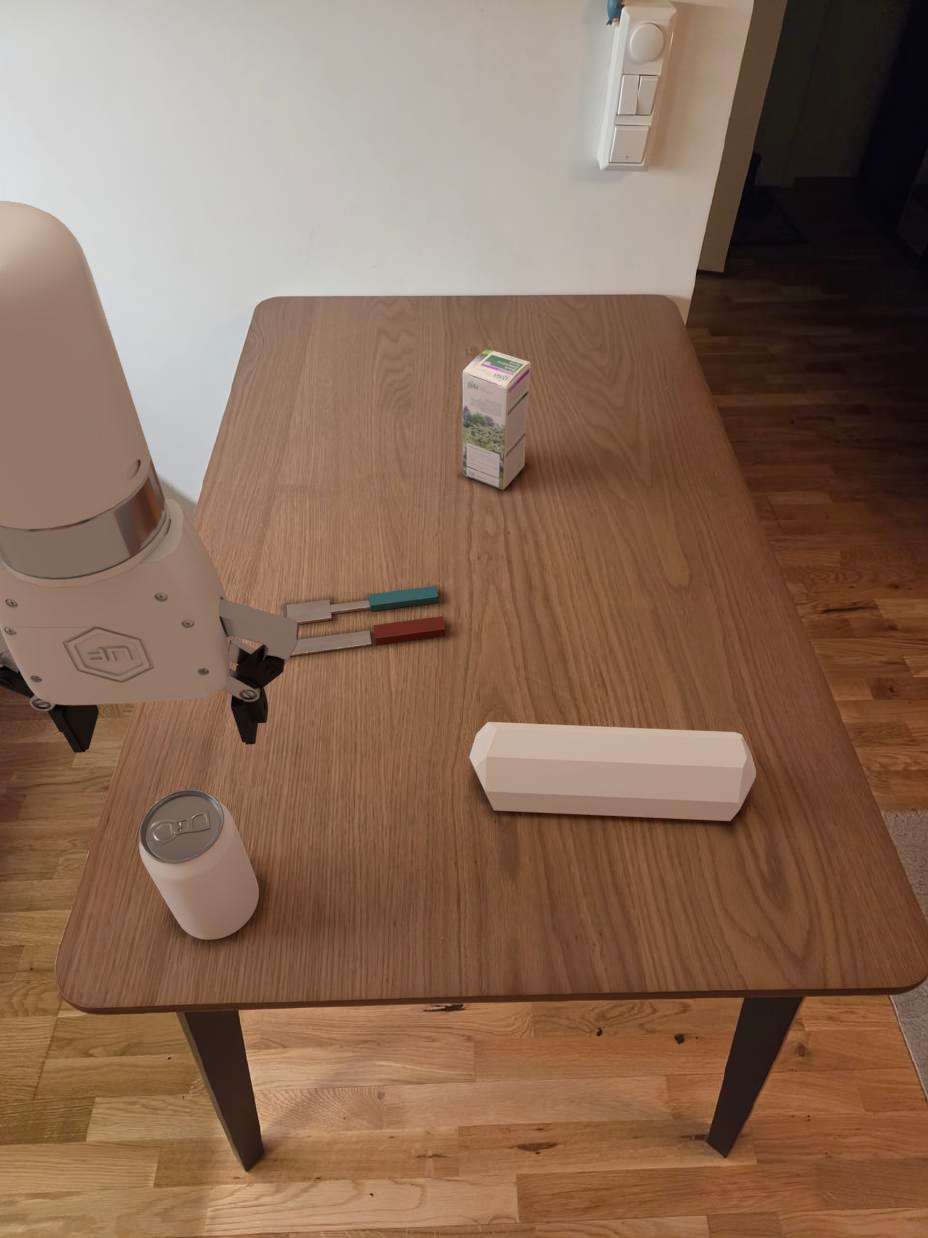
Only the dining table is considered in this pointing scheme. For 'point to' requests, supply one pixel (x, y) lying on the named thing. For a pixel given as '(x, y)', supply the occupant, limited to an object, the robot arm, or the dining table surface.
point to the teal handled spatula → (361, 604)
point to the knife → (381, 633)
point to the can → (199, 863)
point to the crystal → (613, 770)
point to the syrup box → (495, 417)
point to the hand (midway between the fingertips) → (170, 728)
